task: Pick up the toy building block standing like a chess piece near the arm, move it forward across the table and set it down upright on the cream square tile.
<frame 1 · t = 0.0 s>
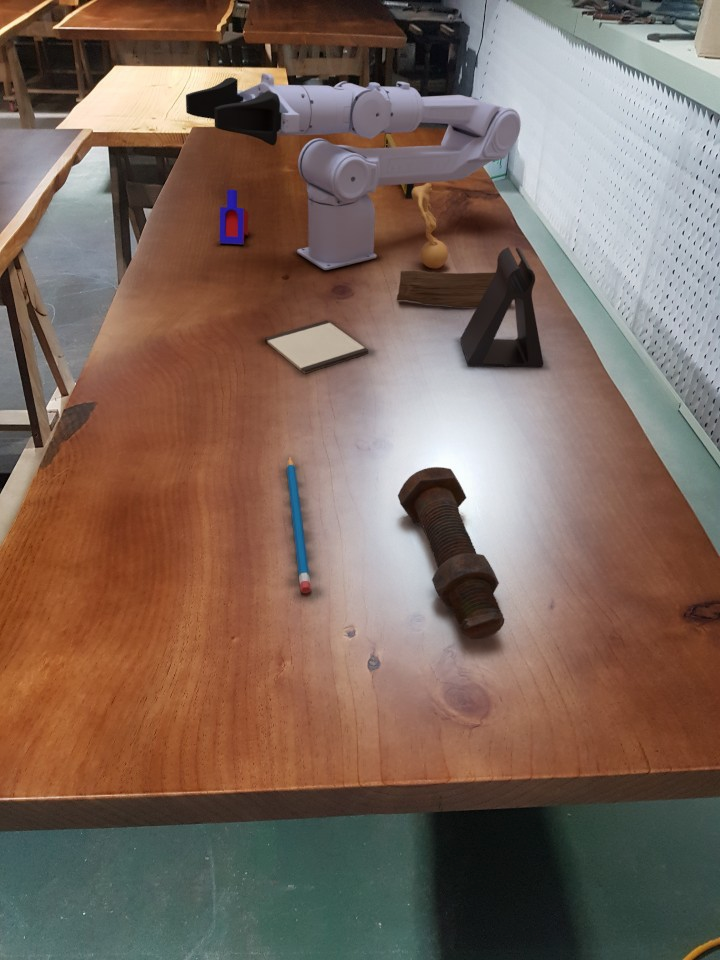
hand: (201, 111, 84), 22 cm above the table, tool horizontal, fingers open, 7 cm apart
spirit level: (397, 171, 143), on the table
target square: (316, 347, 85), on the table
figurine: (425, 268, 106), on the table
toy building block: (235, 239, 112), on the table
bolt: (448, 574, 58), on the table
wood plank: (453, 306, 96), on the table
pencil: (296, 520, 62), on the table
phone stand: (500, 355, 86), on the table
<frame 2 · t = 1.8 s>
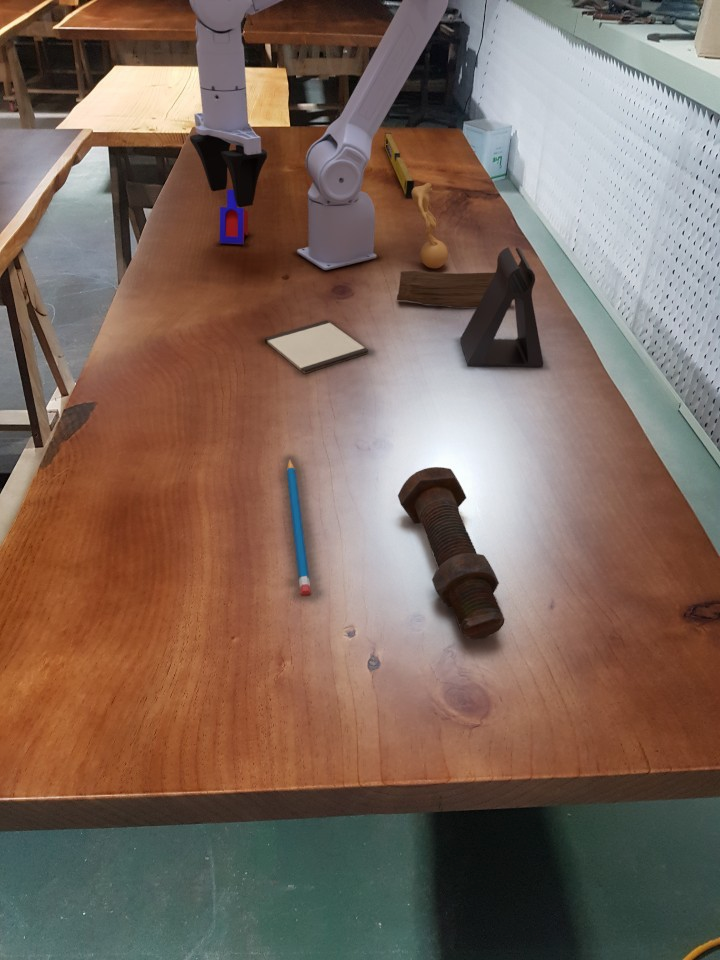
hand: (231, 197, 98), 9 cm above the table, tool pointing down, fingers open, 7 cm apart
nothing on the table moved.
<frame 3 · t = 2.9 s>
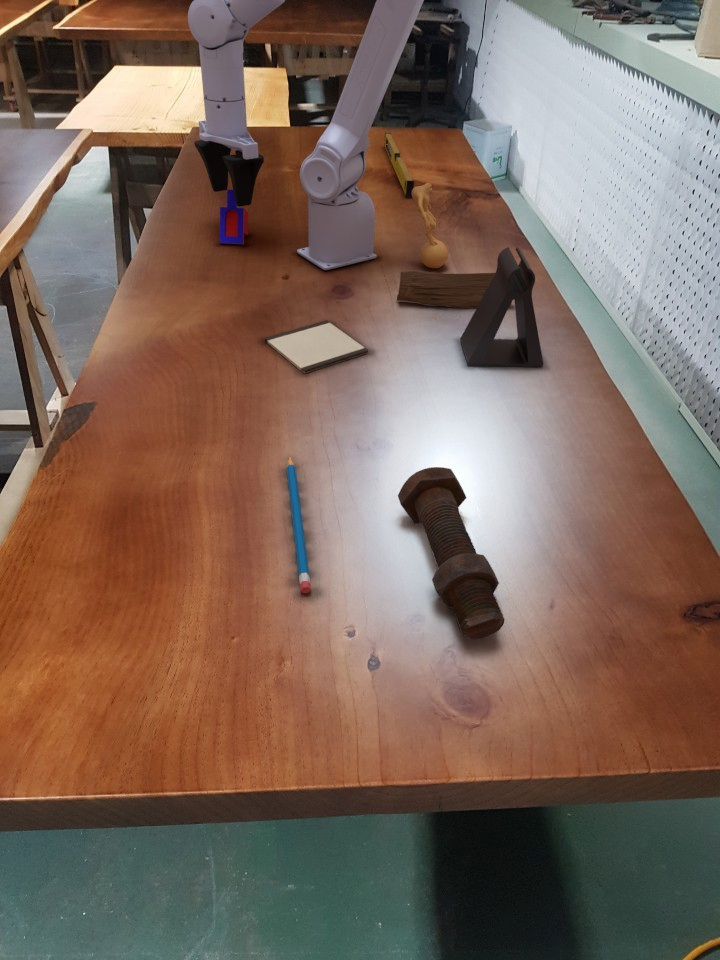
hand: (231, 197, 108), 6 cm above the table, tool pointing down, fingers open, 7 cm apart
nothing on the table moved.
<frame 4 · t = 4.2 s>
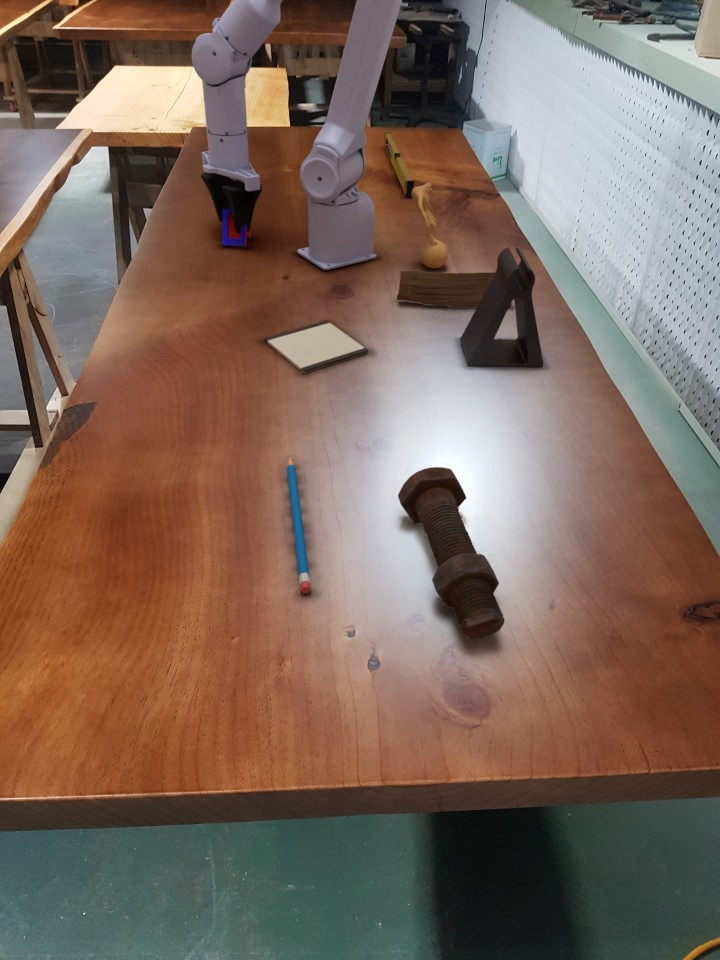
hand: (234, 226, 110), 2 cm above the table, tool pointing down, fingers closed on toy building block, 5 cm apart
toy building block: (238, 241, 111), on the table, touching gripper
everything else where it was.
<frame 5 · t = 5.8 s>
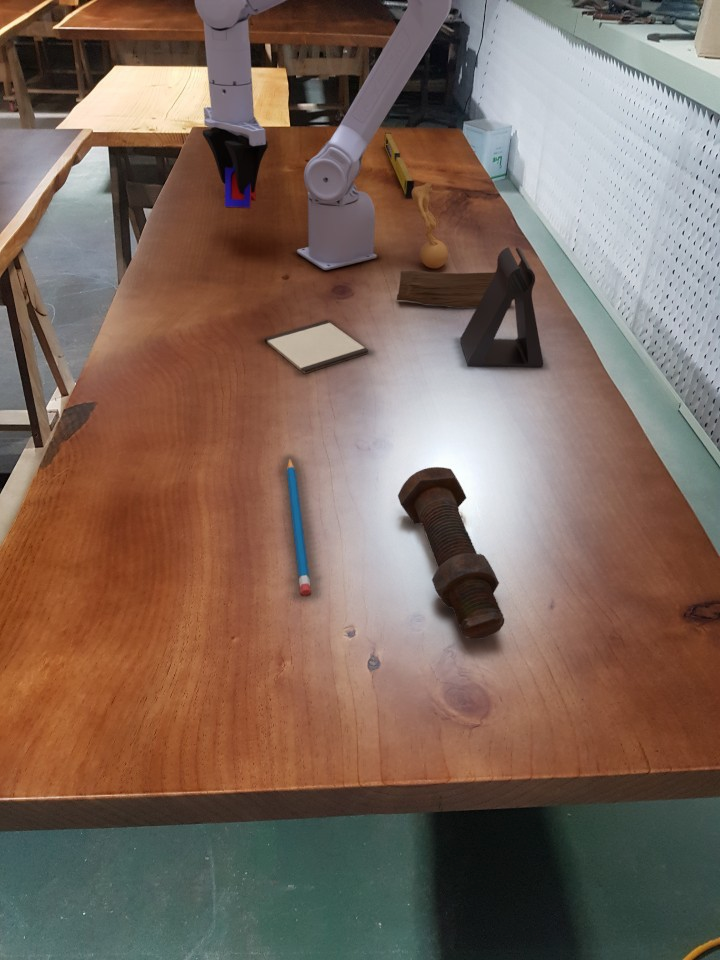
hand: (238, 187, 103), 9 cm above the table, tool pointing down, fingers closed on toy building block, 5 cm apart
toy building block: (242, 204, 104), point 7 cm above the table, touching gripper
everything else where it was.
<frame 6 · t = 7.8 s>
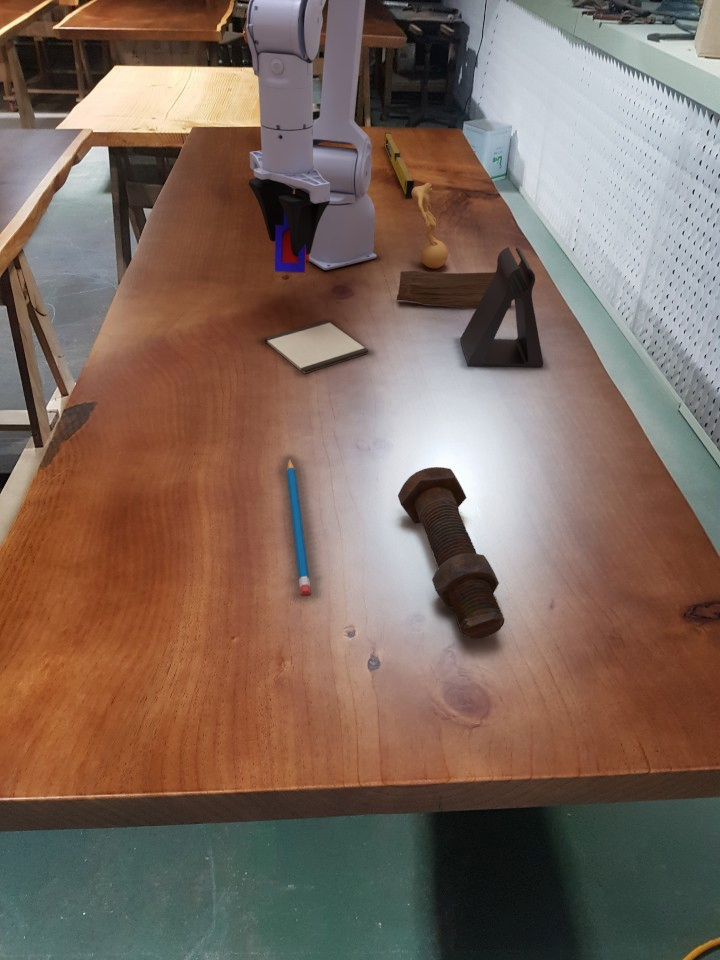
hand: (289, 246, 86), 9 cm above the table, tool pointing down, fingers closed on toy building block, 5 cm apart
toy building block: (293, 266, 87), point 7 cm above the table, touching gripper
everything else where it was.
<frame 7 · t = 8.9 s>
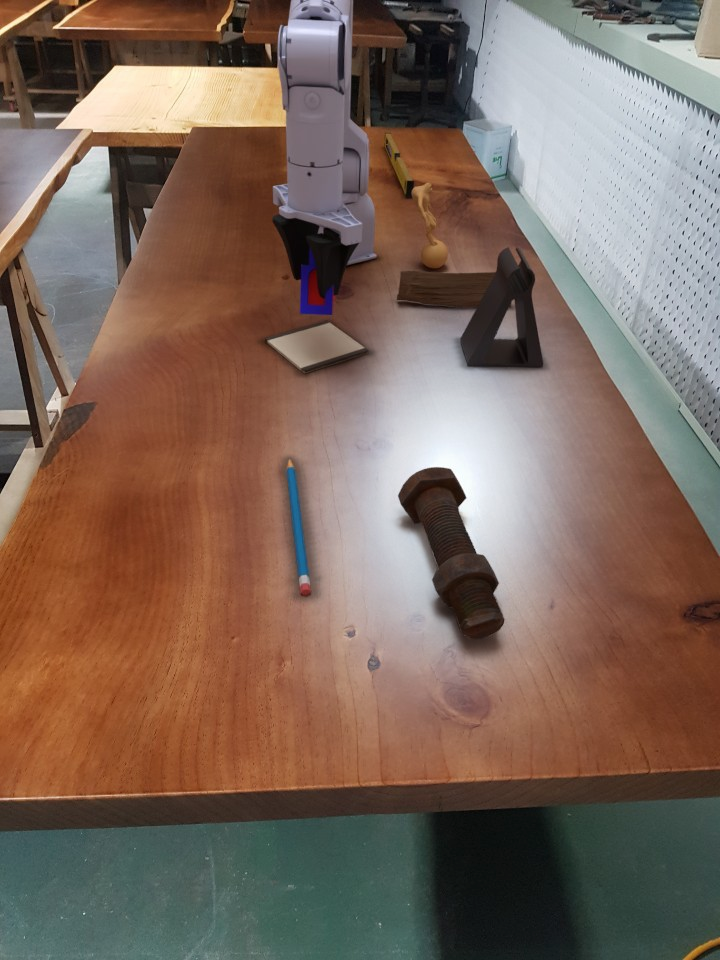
hand: (315, 286, 81), 8 cm above the table, tool pointing down, fingers closed on toy building block, 5 cm apart
toy building block: (318, 307, 81), point 6 cm above the table, touching gripper
everything else where it was.
when the fingers open (2 cm above the table, at t = 10.7 s): toy building block stays where it is, resting on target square.
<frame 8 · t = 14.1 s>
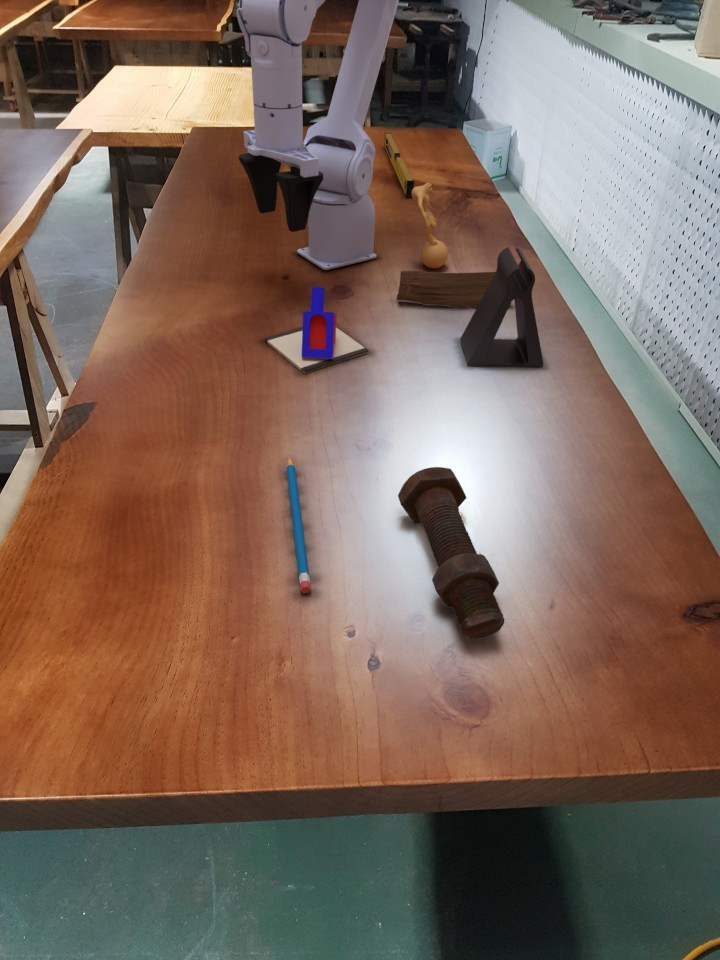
hand: (281, 220, 92), 9 cm above the table, tool pointing down, fingers open, 7 cm apart
toy building block: (319, 349, 85), resting on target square
everything else where it was.
at the end: toy building block 1.0 cm off-centre on the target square, point 0.2 cm above the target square's base; toy building block tilted 0°; toy building block moved 37.9 cm from its start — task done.
